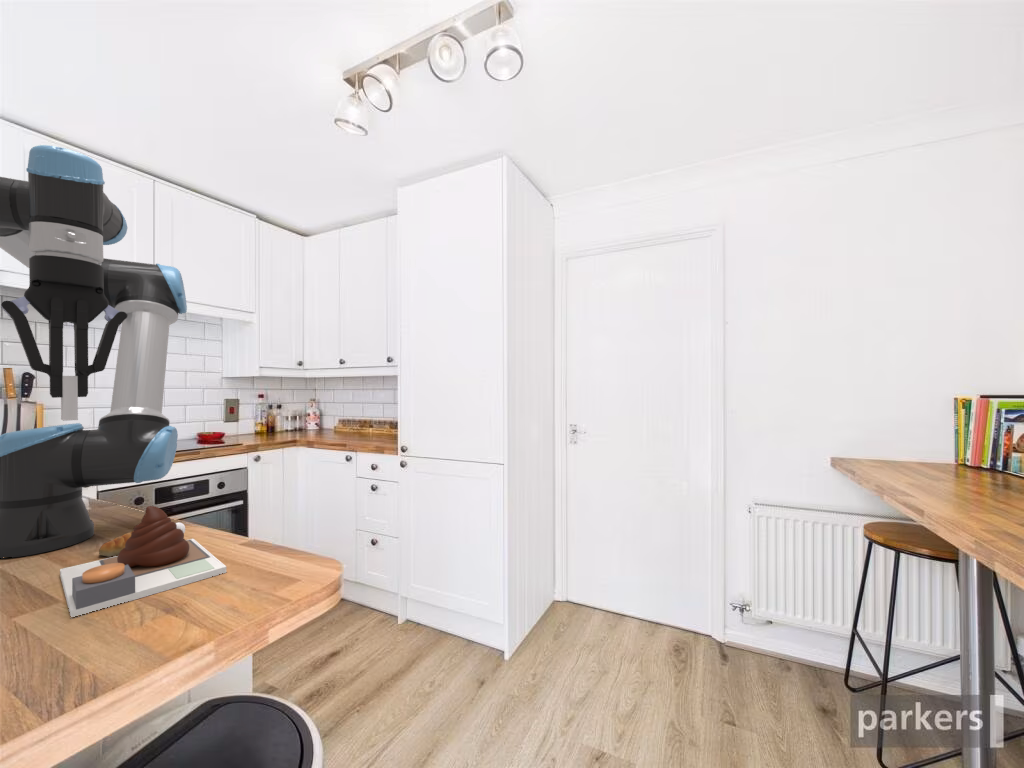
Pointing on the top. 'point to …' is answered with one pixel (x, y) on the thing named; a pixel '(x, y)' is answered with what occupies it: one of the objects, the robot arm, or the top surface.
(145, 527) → the poop emoji
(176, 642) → the top surface
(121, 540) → the pastry
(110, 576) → the button
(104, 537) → the top surface
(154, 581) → the picture board
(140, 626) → the top surface
